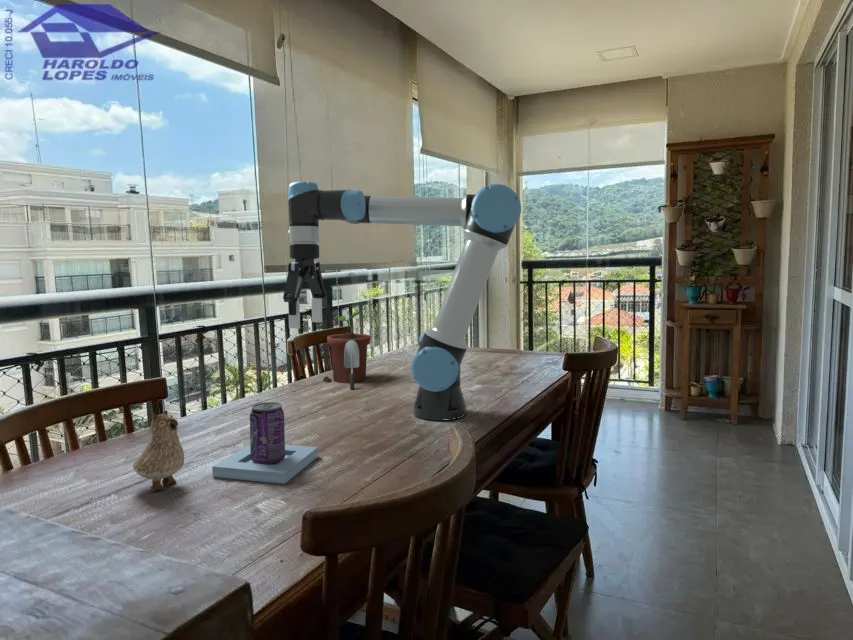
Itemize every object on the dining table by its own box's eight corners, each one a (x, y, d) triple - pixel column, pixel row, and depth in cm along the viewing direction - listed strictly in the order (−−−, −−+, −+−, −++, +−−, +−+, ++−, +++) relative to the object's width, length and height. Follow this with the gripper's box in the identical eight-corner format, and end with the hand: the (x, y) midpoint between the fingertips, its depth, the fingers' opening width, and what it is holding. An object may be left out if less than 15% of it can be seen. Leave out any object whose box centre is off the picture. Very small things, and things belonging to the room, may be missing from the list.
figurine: (167, 498, 107) (163, 419, 106) (121, 494, 109) (116, 417, 107) (195, 479, 116) (192, 407, 115) (152, 476, 118) (148, 404, 116)
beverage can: (254, 455, 127) (253, 401, 126) (287, 454, 127) (286, 401, 126) (247, 466, 120) (245, 410, 118) (282, 466, 120) (280, 409, 119)
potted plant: (383, 377, 214) (382, 310, 211) (353, 390, 194) (352, 316, 192) (341, 374, 221) (340, 308, 218) (308, 385, 201) (307, 314, 199)
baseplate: (318, 456, 129) (318, 447, 129) (284, 483, 114) (284, 473, 114) (253, 451, 133) (253, 441, 133) (212, 476, 118) (212, 466, 117)
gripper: (311, 244, 162) (313, 319, 165) (267, 242, 138) (269, 330, 141) (336, 244, 161) (337, 320, 163) (295, 242, 137) (298, 331, 139)
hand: (306, 325), depth 152 cm, fingers open, 13 cm apart
